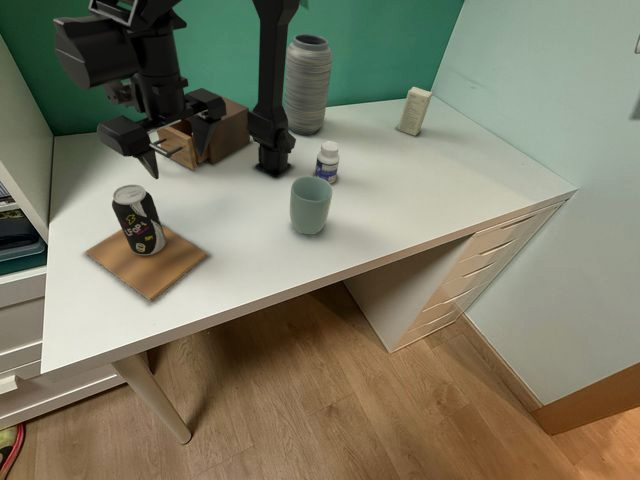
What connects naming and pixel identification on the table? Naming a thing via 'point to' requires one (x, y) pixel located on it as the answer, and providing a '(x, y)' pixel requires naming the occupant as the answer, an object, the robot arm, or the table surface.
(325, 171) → the pill bottle
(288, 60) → the vase
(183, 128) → the drawer
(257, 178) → the table surface
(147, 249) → the beverage can
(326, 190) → the cup
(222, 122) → the cabinet
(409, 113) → the cosmetic box
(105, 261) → the wooden board
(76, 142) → the table surface
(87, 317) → the table surface
